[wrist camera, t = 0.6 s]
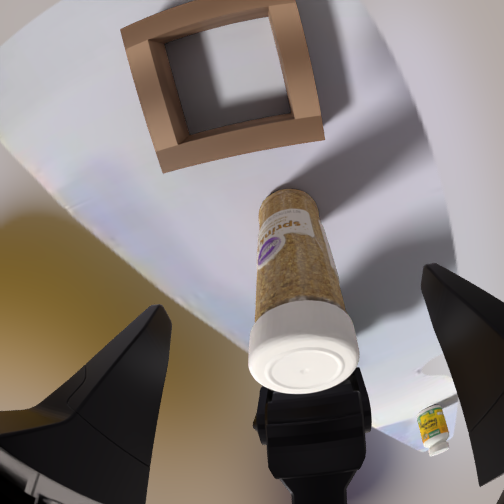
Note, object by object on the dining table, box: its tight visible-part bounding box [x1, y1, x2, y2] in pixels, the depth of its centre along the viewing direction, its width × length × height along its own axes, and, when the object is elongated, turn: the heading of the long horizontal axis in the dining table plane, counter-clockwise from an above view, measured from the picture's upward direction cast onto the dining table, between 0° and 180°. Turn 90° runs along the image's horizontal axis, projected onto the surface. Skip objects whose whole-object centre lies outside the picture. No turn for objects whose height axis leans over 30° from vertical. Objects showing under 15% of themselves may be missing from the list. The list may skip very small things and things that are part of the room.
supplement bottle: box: [417, 405, 449, 456], centre depth 39 cm, size 5×5×10 cm
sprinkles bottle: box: [248, 189, 359, 394], centre depth 16 cm, size 5×5×14 cm
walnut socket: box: [120, 0, 325, 173], centre depth 15 cm, size 10×10×3 cm
